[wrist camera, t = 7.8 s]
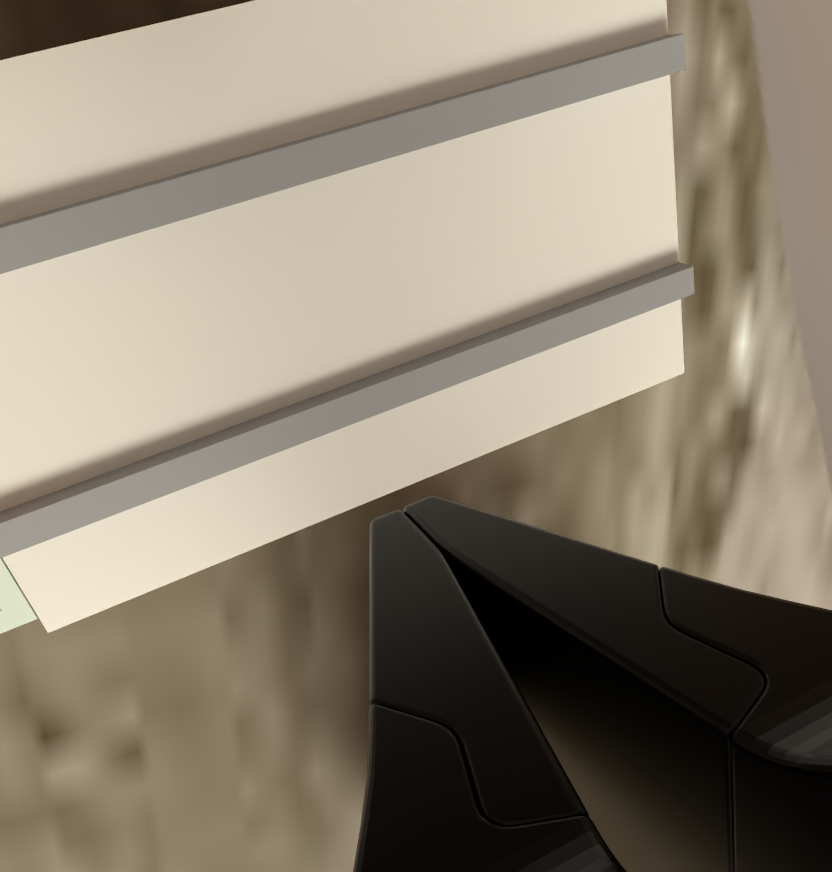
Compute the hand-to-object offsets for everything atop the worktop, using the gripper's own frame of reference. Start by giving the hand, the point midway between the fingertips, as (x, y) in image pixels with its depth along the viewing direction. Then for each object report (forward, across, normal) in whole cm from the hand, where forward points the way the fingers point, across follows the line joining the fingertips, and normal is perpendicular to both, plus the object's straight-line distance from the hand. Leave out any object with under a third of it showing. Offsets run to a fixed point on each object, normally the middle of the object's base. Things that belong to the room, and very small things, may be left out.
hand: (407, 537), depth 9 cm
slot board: (+13, -2, 0) cm, 13 cm away
